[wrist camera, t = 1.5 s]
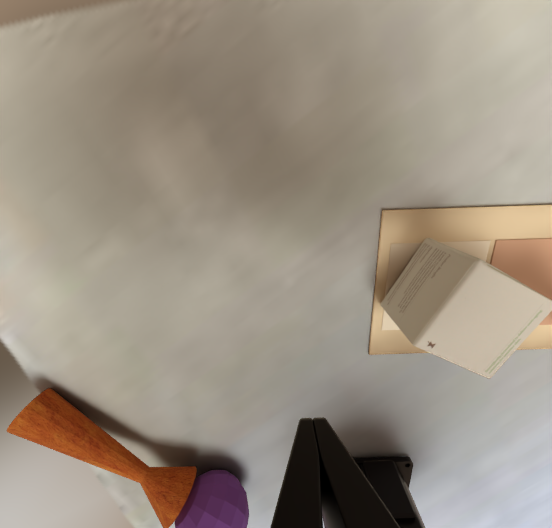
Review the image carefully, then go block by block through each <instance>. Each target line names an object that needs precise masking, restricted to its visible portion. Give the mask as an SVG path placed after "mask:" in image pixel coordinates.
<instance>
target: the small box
mask: <svg viewBox="0 0 552 528" xmlns="http://www.w3.org/2000/svg"><path fill="white" fill-rule="evenodd" d="M380 305H381V306H382V308H383V309H384V310H385V311H386V313H387V314H388V315H389V316H390V318H391V319H392V320H393V321H394V323H395V324H396V325H397V326H398V327H399V329H400V330H401V331H402V332H403V334H404V335H405V336H406V337H407V338H408V340H409V341H410V342H411V344H412V345H414V346H416V347H418V348H420V349H422V350H425V351H427V352H429V353H431V354H434V355H436V356H438V357H440V358H443V359H445V360H447V361H450V362H452V363H454V364H456V365H459V366H461V367H463V368H465V369H467V370H470V371H472V372H474V373H477V374H479V375H481V376H484V377H486V378H488V379H490V378H491V377H492V376H493V375H494V374H495V372H496V371H497V370H498V369H499V368H500V367H501V366H502V365H503V363H504V362H505V361H506V360H507V359H508V358H509V357H510V356H511V355H512V354H513V352H514V351H515V350H516V349H517V348H518V347H519V346H520V345H521V344H522V343H523V341H524V340H525V339H526V338H527V337H528V336H529V335H530V334H531V333H532V332H533V331H534V329H535V328H536V327H537V326H538V325H539V324H540V323H541V322H542V321H543V320H544V319H545V317H546V316H547V315H548V314H549V313H550V312H551V311H552V300H550V299H549V298H547V297H545V296H543V295H541V294H540V293H538V292H536V291H535V290H533V289H531V288H530V287H528V286H526V285H525V284H523V283H521V282H519V281H518V280H516V279H514V278H513V277H511V276H509V275H508V274H506V273H504V272H503V271H501V270H499V269H498V268H496V267H494V266H492V265H490V264H489V263H487V262H485V261H483V260H482V259H480V258H477V257H474V256H472V255H469V254H467V253H464V252H462V251H459V250H457V249H455V248H452V247H450V246H447V245H445V244H443V243H440V242H438V241H436V240H434V239H432V238H426V239H425V240H424V241H423V243H422V244H421V246H420V247H419V249H418V250H417V252H416V253H415V254H414V256H413V257H412V259H411V260H410V262H409V263H408V265H407V266H406V268H405V269H404V271H403V272H402V273H401V275H400V276H399V278H398V279H397V281H396V282H395V284H394V285H393V286H392V288H391V289H390V291H389V292H388V294H387V295H386V297H385V298H384V300H383V301H382V302H381V304H380Z"/></svg>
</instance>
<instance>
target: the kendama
mask: <svg viewBox="0 0 552 528" xmlns="http://www.w3.org/2000/svg"><path fill="white" fill-rule="evenodd" d="M7 432H9V433H11V434H14V435H16V436H19V437H22V438H24V439H27V440H29V441H32V442H35V443H37V444H40V445H43V446H46V447H48V448H50V449H53V450H56V451H58V452H61V453H64V454H66V455H69V456H71V457H74V458H76V459H79V460H82V461H84V462H87V463H89V464H92V465H95V466H97V467H100V468H102V469H105V470H108V471H110V472H113V473H116V474H118V475H121V476H123V477H126V478H129V479H131V480H134V481H136V482H139V483H140V484H141V486H142V488H143V490H144V491H145V493H146V495H147V497H148V499H149V501H150V503H151V505H152V507H153V509H154V511H155V513H156V515H157V516H158V518H159V520H160V522H161V524H162V526H163V528H169V527H170V526H171V525H172V524H173V522H174V521H175V528H247V524H248V517H249V509H248V502H247V495H246V491H245V490H244V488H243V487H242V485H241V483H240V482H239V480H238V479H237V478H236V476H234V475H233V474H231V473H229V472H228V471H226V470H210V471H208V472H206V473H204V474H202V475H200V476H198V477H196V471H197V469H196V466H188V467H149V466H147V465H146V464H145V463H144V462H142V461H141V460H140V459H139V458H137V457H136V456H135V455H134V454H132V453H131V452H130V451H129V450H127V449H126V448H125V447H124V446H122V445H121V444H120V443H119V442H117V441H116V440H115V439H114V438H112V437H111V436H110V435H109V434H107V433H106V432H105V431H104V430H102V429H101V428H100V427H99V426H97V425H96V424H95V423H94V422H92V421H91V420H90V419H89V418H87V417H86V416H85V415H84V414H82V413H81V412H80V411H79V410H77V409H76V408H75V407H74V406H72V405H71V404H70V403H69V402H67V401H66V400H65V399H64V398H62V397H61V396H60V395H59V394H57V393H56V392H55V391H54V390H52V389H51V388H48V389H46V390H45V391H43V392H42V393H41V394H39V395H38V396H37V397H36V398H34V399H33V400H32V401H31V402H30V403H29V404H28V405H27V406H26V407H25V408H24V409H23V410H22V411H21V412H20V414H18V416H16V418H15V419H14V420H13V421H12V423H11V424H10V425H9V427H8V429H7ZM195 477H196V478H195Z"/></svg>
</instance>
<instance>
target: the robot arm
mask: <svg viewBox="0 0 552 528" xmlns="http://www.w3.org/2000/svg"><path fill="white" fill-rule="evenodd" d="M412 468H413V463H412V461H411V459H410V458H409V457H388V458H359V459H353V458H352V456H351V455H350V453H349V452H348V451H347V449H346V448H345V446H344V445H343V443H342V442H341V440H340V439H339V437H338V436H337V434H336V433H335V431H334V430H333V429H332V427H331V426H330V424H329V423H328V421H327V420H326V419H325V418H314V419H313V420H312V419H311V418H301V419H300V421H299V424H298V428H297V432H296V435H295V439H294V443H293V446H292V450H291V454H290V457H289V461H288V465H287V469H286V472H285V476H284V480H283V483H282V487H281V491H280V494H279V498H278V502H277V506H276V509H275V513H274V517H273V520H272V524H271V528H323V522H322V516H323V521H324V526H325V528H425V526H424V523H423V521H422V519H421V516H420V514H419V512H418V510H417V507H416V505H415V503H414V500H413V498H412V496H411V493H410V491H409V484H410V479H411V473H412Z"/></svg>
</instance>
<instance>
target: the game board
mask: <svg viewBox="0 0 552 528" xmlns="http://www.w3.org/2000/svg"><path fill="white" fill-rule="evenodd" d="M426 238H432V239H434V240H436V241H438V242H440V243H443V244H445V245H447V246H450V247H452V248H455V249H457V250H459V251H462V252H464V253H467V254H469V255H472V256H474V257H477V258H480V259H482V260H483V261H485V262H487V263H489V264H490V265H492V266H494V267H496V268H498V269H499V270H501V271H503V272H504V273H506V274H508V275H509V276H511V277H513V278H514V279H516V280H518V281H519V282H521V283H523V284H525V285H526V286H528V287H530V288H531V289H533V290H535V291H536V292H538V293H540V294H541V295H543V296H545V297H547V298H549V299H550V300H552V205H524V206H494V207H464V208H433V209H403V210H382V217H381V227H380V238H379V248H378V259H377V269H376V280H375V290H374V301H373V311H372V322H371V332H370V343H369V355H374V354H403V353H429V352H427V351H425V350H422V349H420V348H418V347H416V346H414V345H412V344H411V342H410V341H409V340H408V338H407V337H406V336H405V335H404V334H403V332H402V331H401V330H400V329H399V327H398V326H397V325H396V324H395V323H394V321H393V320H392V319H391V318H390V316H389V315H388V314H387V313H386V311H385V310H384V309H383V308H382V306H381V305H380V304H381V302H382V301H383V300H384V298H385V297H386V295H387V294H388V292H389V291H390V289H391V288H392V286H393V285H394V284H395V282H396V281H397V279H398V278H399V276H400V275H401V273H402V272H403V271H404V269H405V268H406V266H407V265H408V263H409V262H410V260H411V259H412V257H413V256H414V254H415V253H416V252H417V250H418V249H419V247H420V246H421V244H422V243H423V241H424V240H425V239H426ZM551 348H552V311H551V312H550V313H549V314H548V315H547V316H546V317H545V319H544V320H543V321H542V322H541V323H540V324H539V325H538V326H537V327H536V328H535V329H534V331H533V332H532V333H531V334H530V335H529V336H528V337H527V338H526V339H525V340H524V341H523V343H522V344H521V345H520V346H519V347H518V348H517V349H516V350H522V349H551Z"/></svg>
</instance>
